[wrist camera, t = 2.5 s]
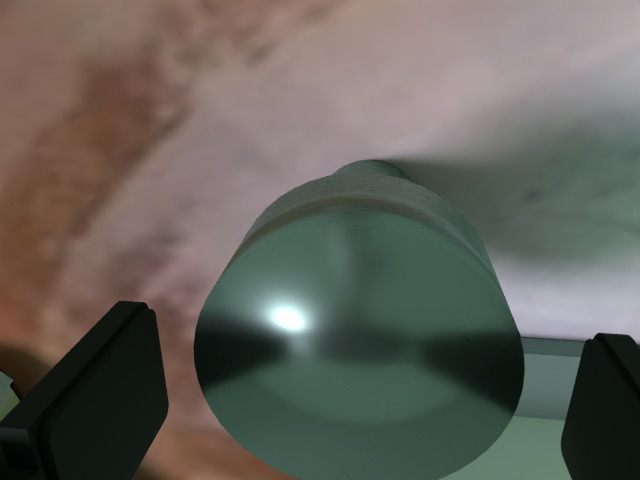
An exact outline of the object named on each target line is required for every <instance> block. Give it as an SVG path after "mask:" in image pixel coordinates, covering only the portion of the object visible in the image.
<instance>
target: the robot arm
mask: <svg viewBox="0 0 640 480" xmlns="http://www.w3.org/2000/svg"><path fill="white" fill-rule="evenodd" d="M168 406H169V403H168V395H167V388H166V382H165V375H164V368H163V361H162V354H161V348H160V341H159V334H158V327H157V320H156V315H155V312H154V310H152V309H149V308H148V306H147V304H146V303H144V302H131V301H119V302H117V303H116V304H115V305H114V306H113V307H112V308H111V309H110V310H109V311H108V312H107V313H106V314H105V315H104V316H103V317H102V318H101V319H100V320H99V321H98V322H97V323H96V325H95V326H94V327H93V328H92V329H91V330H90V331H89V332H88V333H87V334H86V335H85V336H84V337H83V338H82V339H81V340H80V341H79V342H78V343H77V344H76V345H75V346H74V347H73V348H72V349H71V350H70V351H69V352H68V353H67V354H66V355H65V356H64V357H63V358H62V359H61V360H60V361H59V362H58V363H57V364H56V365H55V366H54V367H53V368H52V369H51V370H50V371H49V372H48V373H47V374H46V375H45V377H44V378H43V379H42V380H41V381H40V382H39V383H38V384H37V385H36V386H35V387H34V388H33V389H32V390H31V391H30V392H29V393H28V394H27V395H26V396H25V397H24V398H23V399H22V400H21V401H20V402H19V403H18V404H17V405H16V406H15V407H14V408H13V409H12V410H11V411H10V412H9V413H8V414H7V415H6V416H5V417H4V418H3V419H2V420H1V421H0V480H131V479H132V477H133V475H134V474H135V472H136V470H137V468H138V467H139V465H140V463H141V461H142V460H143V458H144V456H145V454H146V452H147V451H148V449H149V447H150V445H151V444H152V442H153V440H154V438H155V437H156V435H157V433H158V431H159V430H160V428H161V426H162V424H163V423H164V421H165V419H166V416H167V413H168ZM561 452H562V456H563V459H564V462H565V464H566V467H567V469H568V472H569V474H570V477H571V479H572V480H640V347H639V346H638V345H637V344H636V342H635V341H634V340H633V338H632V337H630V336H629V335H622V334H607V333H598V334H596V335H595V337H594V339H593V340H592V339H588V340H586V342H585V344H584V347H583V351H582V355H581V359H580V363H579V367H578V371H577V375H576V379H575V383H574V387H573V391H572V396H571V400H570V404H569V408H568V412H567V416H566V420H565V424H564V428H563V432H562V436H561Z"/></svg>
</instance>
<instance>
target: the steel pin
mask: <svg viewBox="0 0 640 480" xmlns="http://www.w3.org/2000/svg"><path fill="white" fill-rule="evenodd" d="M194 361H195V368H196V373H197V377H198V381H199V384H200V387H201V389H202V392H203V395H204V397H205V399H206V401H207V403H208V405H209V407H210V408H211V410H212V412H213V413H214V415H215V416H216V418H217V419H218V420H219V422H220V423H221V425H222V426H223V427H224V428H225V429H226V430H227V431H228V433H229V434H230V435H231V436H232V437H233V438H234V439H235V440H236V441H237V442H238V443H240V444H241V445H242V446H243V447H244V448H245V449H246V450H248V451H249V452H250V453H252V454H253V455H255V456H256V457H257V458H259V459H260V460H262V461H263V462H265V463H267V464H269V465H270V466H272V467H274V468H276V469H277V470H279V471H282V472H284V473H286V474H288V475H290V476H293V477H295V478H298V479H301V480H439V479H442V478H444V477H446V476H448V475H450V474H452V473H454V472H457V471H459V470H460V469H462V468H463V467H465V466H467V465H468V464H470V463H471V462H473V461H474V460H476V459H477V458H478V457H479V456H481V455H482V454H483V453H484V452H486V451H487V450H488V449H489V448H490V447H491V446H492V445H493V444H494V442H495V441H496V440H497V439H498V438H499V437H500V436H501V434H502V433H503V432H504V430H505V429H506V427H507V426H508V424H509V423H510V421H511V419H512V417H513V415H514V413H515V411H516V409H517V407H518V404H519V400H520V397H521V394H522V390H523V383H524V375H525V363H524V351H523V346H522V342H521V337H520V334H519V331H518V329H517V326H516V324H515V321H514V319H513V316H512V314H511V311H510V309H509V306H508V304H507V301H506V299H505V296H504V294H503V291H502V289H501V286H500V284H499V281H498V279H497V276H496V274H495V271H494V269H493V266H492V264H491V261H490V259H489V256H488V254H487V251H486V249H485V246H484V244H483V242H482V240H481V239H480V237H479V235H478V234H477V232H476V230H475V229H474V228H473V226H472V225H471V224H470V223H469V221H468V220H467V219H466V218H465V217H464V216H463V215H462V214H461V213H460V212H459V211H458V210H457V209H456V208H455V207H454V206H453V205H452V204H450V203H449V202H447V201H446V200H445V199H443V198H442V197H440V196H439V195H438V194H436V193H434V192H432V191H430V190H428V189H426V188H424V187H423V186H421V185H418V184H415V183H413V182H412V181H411V180H410V179H409V177H408V176H407V175H406V174H405V173H404V172H402V171H401V170H400V169H398V168H397V167H395V166H393V165H391V164H388V163H385V162H381V161H376V160H362V161H357V162H353V163H350V164H348V165H346V166H344V167H342V168H340V169H339V170H337V171H336V172H335V173H334V174H333V175H331V176H326V177H323V178H320V179H316V180H313V181H310V182H307V183H305V184H303V185H301V186H298V187H296V188H294V189H292V190H291V191H289V192H287V193H286V194H284V195H283V196H281V197H279V198H278V199H277V200H276V201H275V202H273V203H272V204H271V205H270V206H269V207H267V208H266V209H265V211H264V212H263V213H262V214H261V215H260V216H259V217H258V218H257V219H256V221H255V222H254V224H253V225H252V227H251V228H250V230H249V231H248V233H247V234H246V236H245V238H244V239H243V241H242V242H241V244H240V246H239V247H238V249H237V250H236V252H235V254H234V255H233V257H232V258H231V260H230V262H229V263H228V265H227V266H226V268H225V270H224V271H223V273H222V274H221V276H220V278H219V279H218V281H217V282H216V284H215V286H214V287H213V289H212V291H211V292H210V294H209V295H208V297H207V299H206V301H205V303H204V306H203V308H202V310H201V312H200V315H199V319H198V323H197V326H196V330H195V339H194Z"/></svg>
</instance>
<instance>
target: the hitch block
mask: <svg viewBox="0 0 640 480" xmlns="http://www.w3.org/2000/svg"><path fill="white" fill-rule="evenodd" d="M521 342H522V346H523V351H524V363H525V375H524V383H523V390H522V394H521V397H520V400H519V404H518V407H517V409H516V411H515V413H514V415H513V417H512V419H511V421H510V423H509V424H508V426H507V427H506V429H505V430H504V432H503V433H502V434H501V436H500V437H499V438H498V439H497V440H496V441H495V442H494V444H493V445H492V446H491V447H490V448H489V449H488V450H487V451H486V452H484V453H483V454H482V455H481V456H479V457H478V458H477V459H476V460H474V461H473V462H471V463H470V464H468V465H467V466H465V467H463V468H462V469H460V470H459V471H457V472H454V473H452V474H450V475H448V476H446V477H444V478H442V479H439V480H572V479H571V477H570V474H569V472H568V469H567V467H566V464H565V462H564V459H563V456H562V452H561V436H562V432H563V428H564V424H565V420H566V416H567V412H568V408H569V404H570V400H571V396H572V391H573V387H574V383H575V379H576V375H577V371H578V367H579V363H580V359H581V355H582V351H583V347H584V344H585V342H579V341H565V340H550V339H535V338H521ZM639 347H640V346H639Z"/></svg>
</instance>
